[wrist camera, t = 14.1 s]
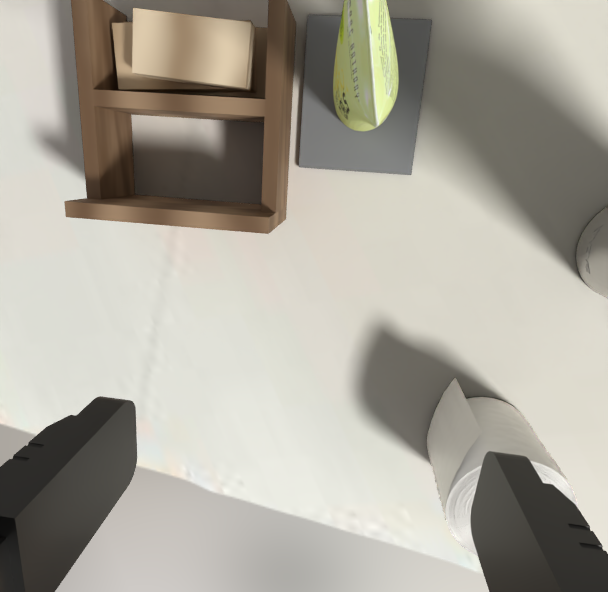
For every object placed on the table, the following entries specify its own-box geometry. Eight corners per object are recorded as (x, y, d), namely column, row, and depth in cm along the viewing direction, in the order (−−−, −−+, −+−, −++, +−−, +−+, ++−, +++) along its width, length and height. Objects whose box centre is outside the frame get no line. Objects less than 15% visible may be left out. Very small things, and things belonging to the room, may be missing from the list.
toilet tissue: (485, 499, 48) (519, 582, 38) (395, 443, 47) (406, 514, 37) (553, 431, 45) (608, 503, 35) (458, 369, 44) (487, 427, 34)
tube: (316, 99, 37) (281, 35, 19) (357, 48, 36) (362, -75, 17) (365, 145, 38) (377, 127, 19) (406, 96, 37) (462, 28, 18)
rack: (296, 23, 36) (278, -21, 28) (285, 219, 41) (268, 233, 33) (112, 15, 38) (42, -29, 29) (123, 206, 42) (66, 216, 34)
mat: (430, 21, 35) (432, 19, 35) (410, 174, 39) (411, 175, 38) (308, 16, 36) (307, 14, 36) (299, 167, 40) (298, 167, 39)
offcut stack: (274, 34, 37) (261, 13, 32) (271, 103, 38) (259, 94, 33) (133, 27, 38) (98, 6, 33) (136, 95, 39) (103, 85, 34)
